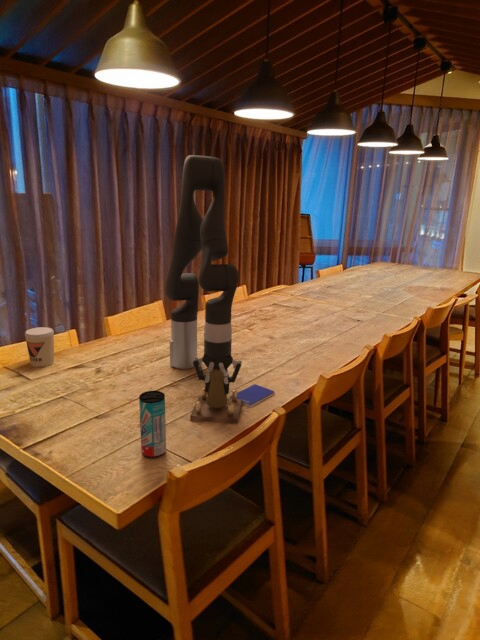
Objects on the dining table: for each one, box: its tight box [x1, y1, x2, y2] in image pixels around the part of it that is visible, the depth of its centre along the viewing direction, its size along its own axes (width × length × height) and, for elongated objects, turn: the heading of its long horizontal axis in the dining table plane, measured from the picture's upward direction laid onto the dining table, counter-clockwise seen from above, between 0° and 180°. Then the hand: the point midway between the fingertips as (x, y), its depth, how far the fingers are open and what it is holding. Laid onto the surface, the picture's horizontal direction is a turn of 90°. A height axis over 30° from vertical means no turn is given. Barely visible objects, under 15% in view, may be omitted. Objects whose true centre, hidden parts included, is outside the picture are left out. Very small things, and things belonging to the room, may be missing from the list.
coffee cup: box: [24, 326, 55, 368], centre depth 159 cm, size 9×9×12 cm
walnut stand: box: [189, 386, 242, 425], centre depth 129 cm, size 13×12×5 cm
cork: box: [206, 369, 228, 408], centre depth 127 cm, size 6×6×11 cm
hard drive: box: [228, 383, 275, 408], centre depth 140 cm, size 2×8×12 cm
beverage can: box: [138, 390, 167, 459], centre depth 107 cm, size 6×6×15 cm
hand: (217, 393), depth 128 cm, fingers closed on cork, 4 cm apart
